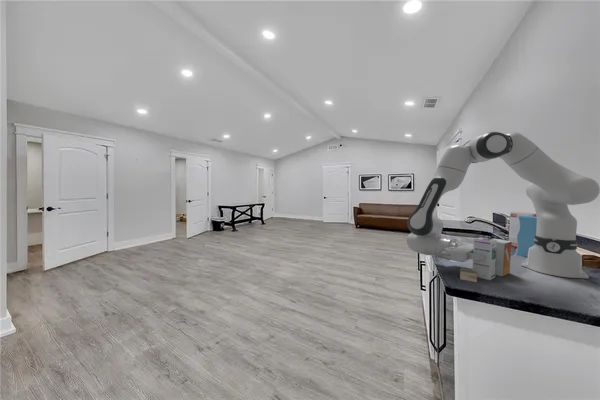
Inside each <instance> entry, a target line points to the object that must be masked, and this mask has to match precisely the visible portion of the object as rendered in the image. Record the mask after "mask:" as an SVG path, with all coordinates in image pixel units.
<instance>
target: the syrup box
mask: <svg viewBox="0 0 600 400" xmlns="http://www.w3.org/2000/svg"><path fill="white" fill-rule="evenodd" d="M494 239H495V238H489V237H488V238H487V237H477V238H474V239H473V244H474V247H473V254H478V255H480V254H481V255H485V256H486V257H485V260H484V261H482V260H473V259H472V270H475V271H477V279H478V278H479V279H482V280H486V281H492V280H493V279H495V278H496V275H495V274H496V249H497V240H494Z"/></svg>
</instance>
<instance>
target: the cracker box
mask: <svg viewBox="0 0 600 400" xmlns="http://www.w3.org/2000/svg"><path fill="white" fill-rule="evenodd" d="M509 215H510V216H509V230H508V231H509V232H508V241H512V246H511V247H513V248H516V249H517V248H518V242H517V234H518V232H519V230H520V221H519V216H531V217H537V216H536V212H535V213H534V212H525V211H510V214H509Z"/></svg>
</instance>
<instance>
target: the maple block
mask: <svg viewBox="0 0 600 400" xmlns="http://www.w3.org/2000/svg"><path fill="white" fill-rule="evenodd" d="M459 271H460V272H459V279H460V280H462V281H464V280H465V281H469V282H474V283H478V277H477V271H475V270H473V269H468V268H463V267H460V270H459Z"/></svg>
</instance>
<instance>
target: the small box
mask: <svg viewBox="0 0 600 400" xmlns="http://www.w3.org/2000/svg"><path fill="white" fill-rule="evenodd" d="M493 239H494V240H497V249H496V274H495V276H498V277H505V276H506V275H508V274H510V271H511V256H512V247H513V246H512V241H509V240H504V239H498V238H493Z"/></svg>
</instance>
